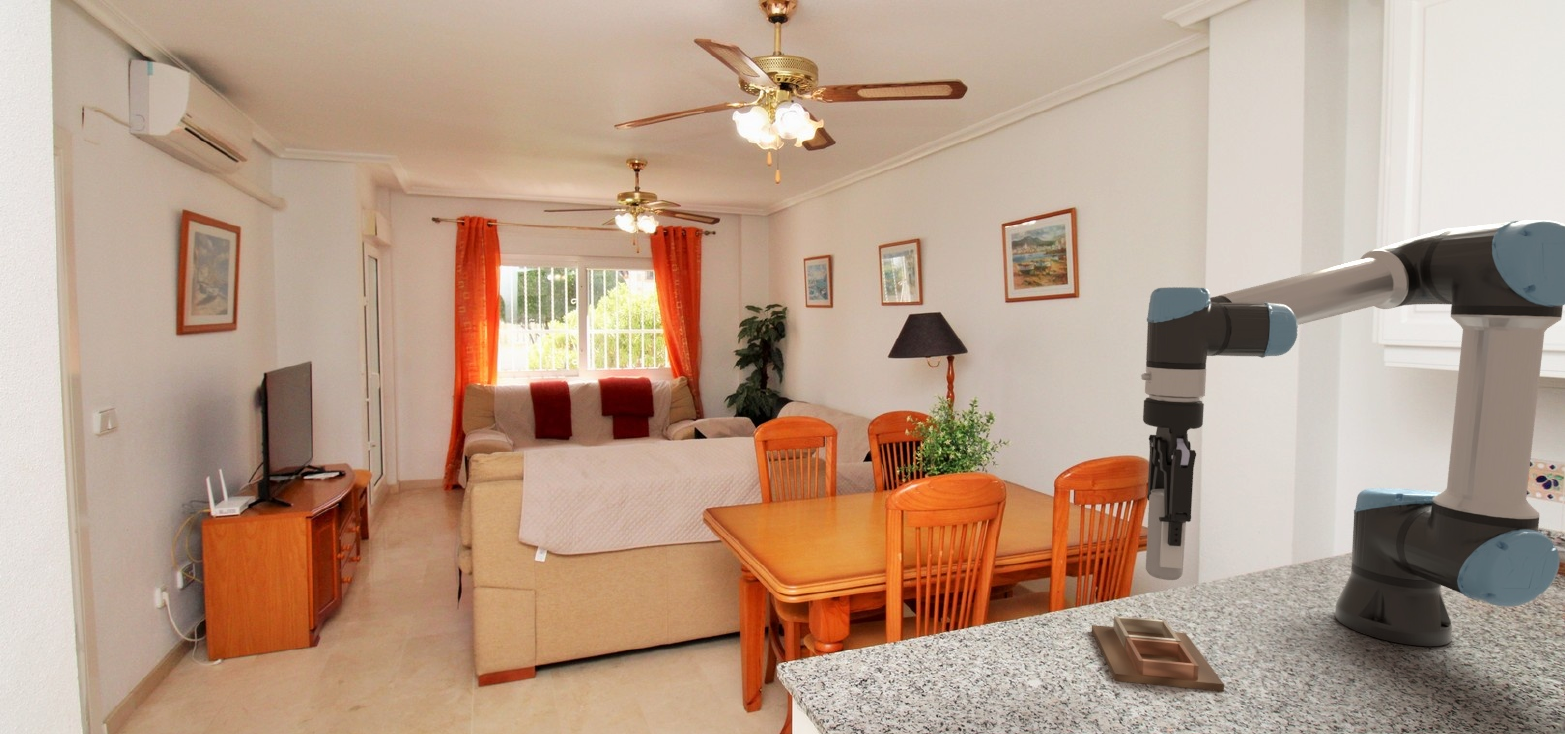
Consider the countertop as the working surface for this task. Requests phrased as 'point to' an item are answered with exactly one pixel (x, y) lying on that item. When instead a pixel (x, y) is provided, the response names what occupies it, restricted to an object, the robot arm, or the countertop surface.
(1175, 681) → the socket board
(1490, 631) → the countertop surface
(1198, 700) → the countertop surface
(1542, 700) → the countertop surface
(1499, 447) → the robot arm
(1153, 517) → the beverage can
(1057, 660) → the countertop surface
